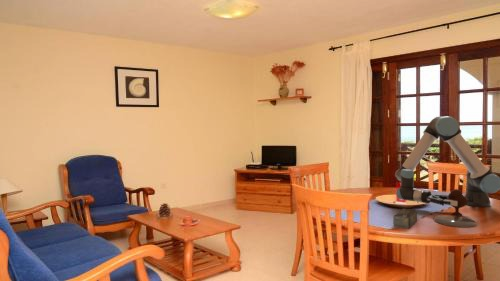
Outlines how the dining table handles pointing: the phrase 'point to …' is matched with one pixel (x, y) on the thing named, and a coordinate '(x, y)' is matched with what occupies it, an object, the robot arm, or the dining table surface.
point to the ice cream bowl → (457, 196)
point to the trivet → (455, 221)
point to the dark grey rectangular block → (405, 218)
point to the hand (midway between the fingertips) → (461, 201)
